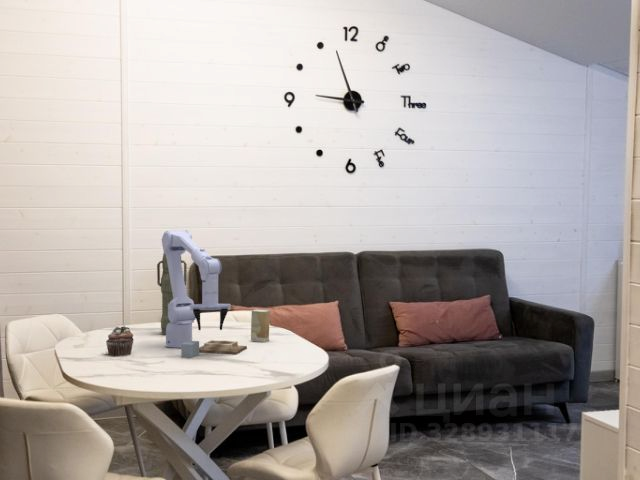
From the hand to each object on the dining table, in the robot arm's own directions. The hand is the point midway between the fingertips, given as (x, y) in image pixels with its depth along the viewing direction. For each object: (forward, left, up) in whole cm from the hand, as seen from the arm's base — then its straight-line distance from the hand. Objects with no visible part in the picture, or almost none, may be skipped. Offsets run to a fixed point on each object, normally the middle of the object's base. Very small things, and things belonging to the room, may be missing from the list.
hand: (210, 329), depth 308 cm
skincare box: (+9, +31, -9) cm, 33 cm away
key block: (-6, -5, -9) cm, 12 cm away
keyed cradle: (+1, +8, -9) cm, 12 cm away
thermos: (-31, +37, -9) cm, 49 cm away
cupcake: (-32, -8, -9) cm, 34 cm away
